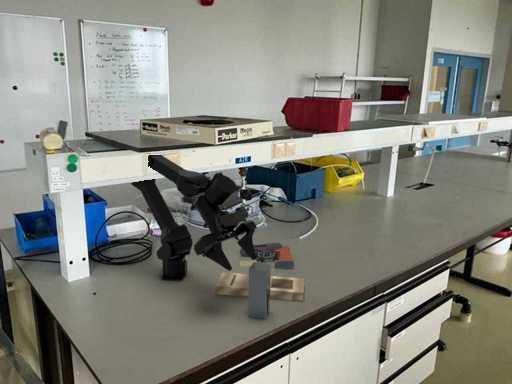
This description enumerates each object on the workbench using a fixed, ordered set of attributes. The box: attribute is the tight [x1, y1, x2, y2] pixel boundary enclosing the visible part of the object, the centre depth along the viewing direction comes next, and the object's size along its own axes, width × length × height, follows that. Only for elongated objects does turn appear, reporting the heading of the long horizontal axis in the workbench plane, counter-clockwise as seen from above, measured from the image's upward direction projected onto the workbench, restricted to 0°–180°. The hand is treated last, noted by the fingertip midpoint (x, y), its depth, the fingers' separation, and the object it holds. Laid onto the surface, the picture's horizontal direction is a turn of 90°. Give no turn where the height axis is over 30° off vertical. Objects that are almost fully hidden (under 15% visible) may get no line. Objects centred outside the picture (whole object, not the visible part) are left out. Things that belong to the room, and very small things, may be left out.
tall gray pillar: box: [247, 262, 272, 321], centre depth 107 cm, size 4×4×13 cm
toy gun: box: [238, 242, 295, 270], centre depth 143 cm, size 18×5×15 cm
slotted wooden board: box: [215, 272, 305, 302], centre depth 121 cm, size 24×9×3 cm, turn 83°
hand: (243, 264), depth 109 cm, fingers open, 9 cm apart
